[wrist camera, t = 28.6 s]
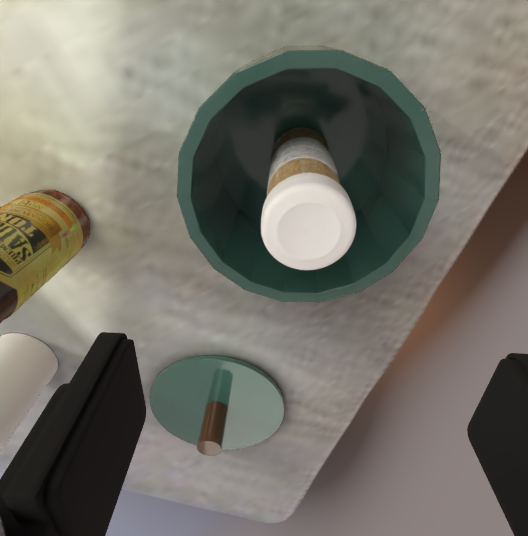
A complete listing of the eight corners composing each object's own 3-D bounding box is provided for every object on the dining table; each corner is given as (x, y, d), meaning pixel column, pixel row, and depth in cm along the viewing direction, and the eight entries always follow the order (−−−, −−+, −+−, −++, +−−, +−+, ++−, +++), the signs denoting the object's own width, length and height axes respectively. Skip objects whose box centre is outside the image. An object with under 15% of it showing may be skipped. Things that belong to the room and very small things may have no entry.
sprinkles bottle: (312, 193, 31) (327, 286, 19) (261, 170, 30) (244, 252, 19) (341, 141, 29) (377, 210, 17) (286, 113, 28) (285, 167, 16)
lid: (127, 369, 43) (105, 415, 38) (255, 336, 40) (250, 382, 34) (189, 450, 50) (177, 498, 45) (301, 428, 47) (303, 478, 42)
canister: (173, 94, 28) (127, 118, 20) (375, 7, 25) (418, -7, 17) (248, 258, 35) (236, 325, 27) (413, 207, 31) (457, 266, 23)
